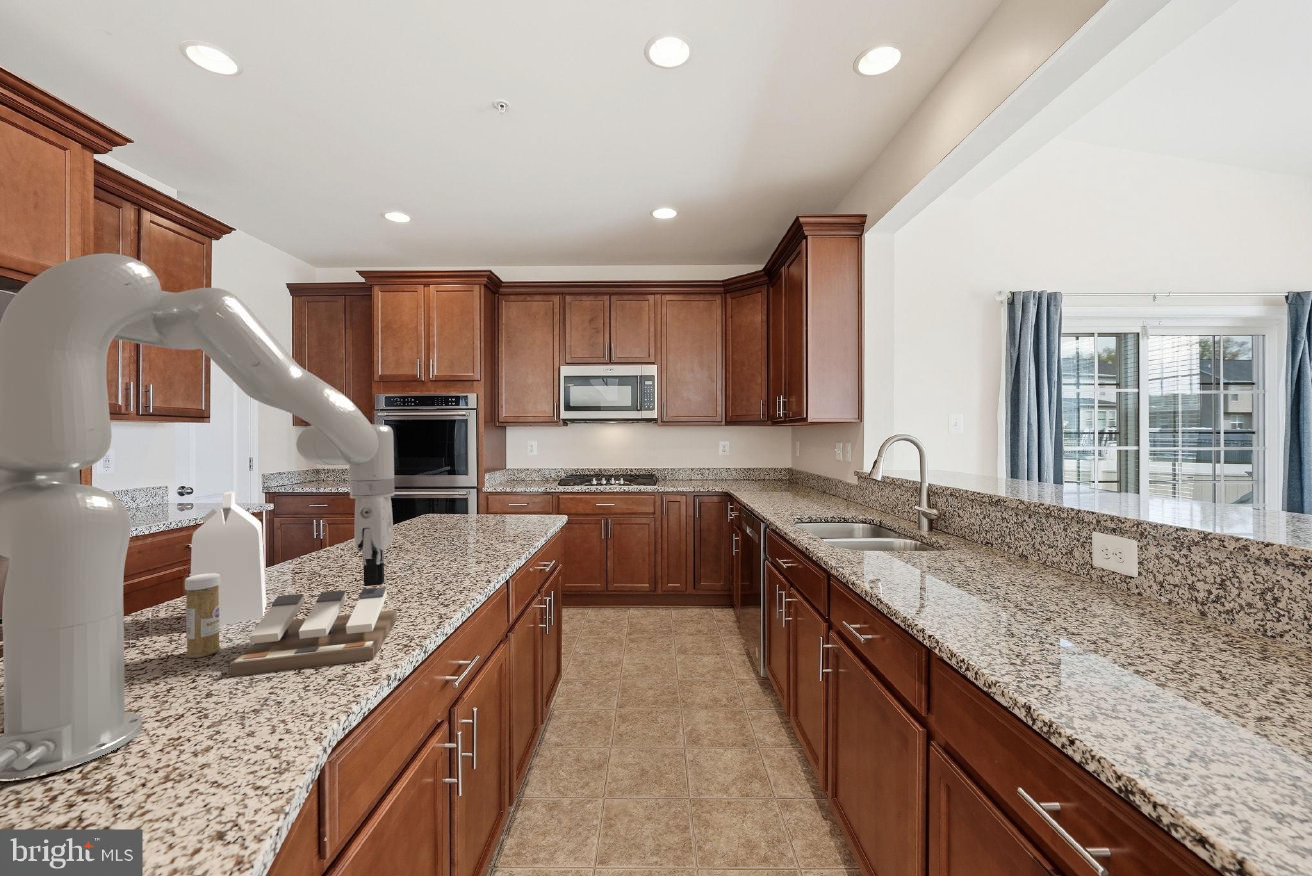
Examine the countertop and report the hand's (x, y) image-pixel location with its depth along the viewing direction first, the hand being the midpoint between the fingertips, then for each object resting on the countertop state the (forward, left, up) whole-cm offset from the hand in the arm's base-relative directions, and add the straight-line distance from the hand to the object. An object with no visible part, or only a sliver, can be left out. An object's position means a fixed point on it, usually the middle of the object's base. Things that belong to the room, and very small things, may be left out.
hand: (374, 584), depth 100 cm
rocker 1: (-5, +14, -3) cm, 15 cm away
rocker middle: (-5, +7, -3) cm, 9 cm away
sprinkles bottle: (-3, +26, -9) cm, 28 cm away
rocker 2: (-5, 0, -3) cm, 6 cm away
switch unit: (-5, +7, -9) cm, 12 cm away
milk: (+18, +31, -9) cm, 37 cm away
